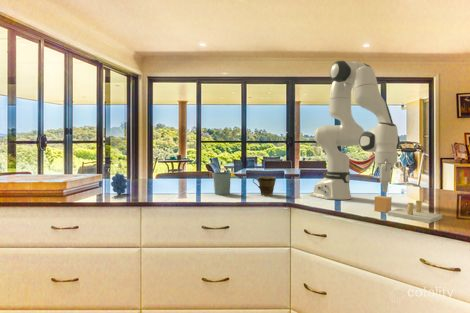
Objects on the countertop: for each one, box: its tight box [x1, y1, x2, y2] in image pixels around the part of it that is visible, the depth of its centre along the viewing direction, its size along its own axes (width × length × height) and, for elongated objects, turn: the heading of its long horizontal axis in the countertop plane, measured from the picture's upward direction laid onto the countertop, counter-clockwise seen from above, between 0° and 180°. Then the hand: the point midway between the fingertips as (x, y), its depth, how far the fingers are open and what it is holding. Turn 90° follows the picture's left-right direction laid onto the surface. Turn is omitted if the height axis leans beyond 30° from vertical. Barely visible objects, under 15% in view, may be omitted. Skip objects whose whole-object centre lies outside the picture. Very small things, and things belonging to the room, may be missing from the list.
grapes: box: [110, 172, 128, 196], centre depth 174 cm, size 12×7×12 cm, turn 157°
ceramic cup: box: [252, 175, 277, 197], centre depth 178 cm, size 13×10×10 cm
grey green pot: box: [212, 171, 232, 196], centre depth 180 cm, size 10×10×12 cm
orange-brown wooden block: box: [373, 195, 392, 214], centre depth 139 cm, size 5×5×6 cm
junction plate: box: [387, 200, 443, 224], centre depth 129 cm, size 16×12×6 cm
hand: (384, 191), depth 138 cm, fingers open, 8 cm apart
